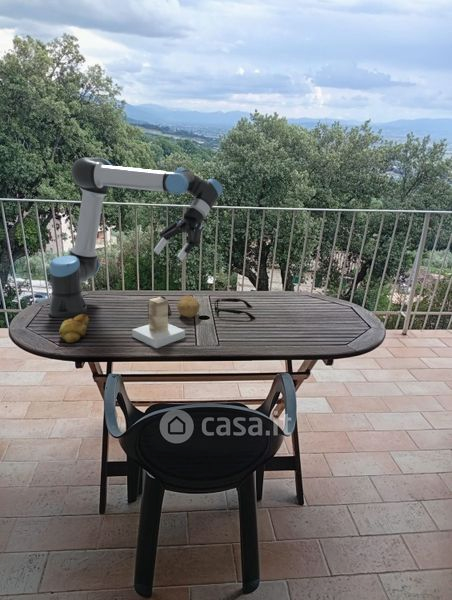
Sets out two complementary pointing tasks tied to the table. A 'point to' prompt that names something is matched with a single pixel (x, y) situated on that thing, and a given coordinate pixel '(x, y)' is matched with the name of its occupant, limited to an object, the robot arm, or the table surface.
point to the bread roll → (74, 328)
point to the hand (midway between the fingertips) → (167, 255)
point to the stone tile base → (158, 335)
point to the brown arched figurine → (168, 305)
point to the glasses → (233, 310)
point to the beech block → (158, 315)
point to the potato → (188, 306)
